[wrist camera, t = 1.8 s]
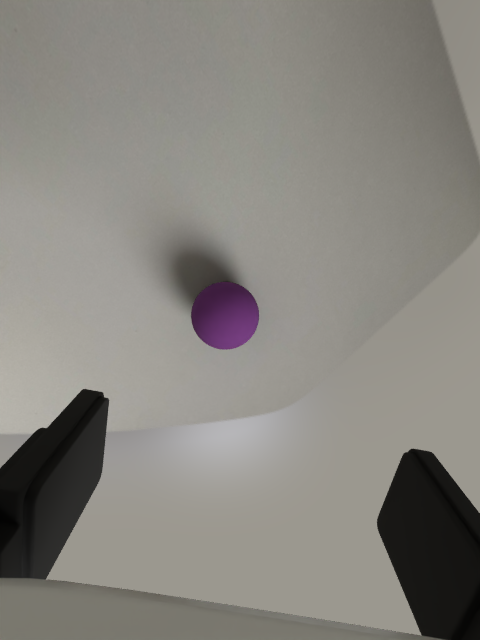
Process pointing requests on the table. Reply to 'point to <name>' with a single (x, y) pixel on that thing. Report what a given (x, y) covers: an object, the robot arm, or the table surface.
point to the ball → (225, 315)
